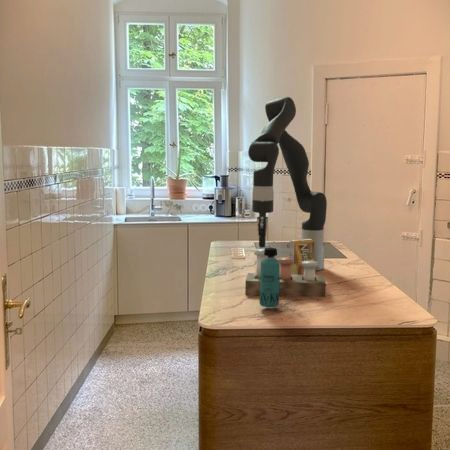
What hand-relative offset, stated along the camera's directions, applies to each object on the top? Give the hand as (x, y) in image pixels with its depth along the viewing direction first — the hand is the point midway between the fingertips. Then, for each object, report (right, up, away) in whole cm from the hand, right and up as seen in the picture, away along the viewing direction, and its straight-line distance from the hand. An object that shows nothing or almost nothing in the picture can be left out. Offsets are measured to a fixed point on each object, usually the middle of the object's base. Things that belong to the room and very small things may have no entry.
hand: (262, 246), depth 192 cm
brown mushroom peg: (+8, -15, +1) cm, 17 cm away
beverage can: (+3, -13, +23) cm, 27 cm away
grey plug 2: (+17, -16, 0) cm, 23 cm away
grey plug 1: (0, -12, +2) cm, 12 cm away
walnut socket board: (+9, -16, +1) cm, 18 cm away
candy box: (+17, -14, +23) cm, 32 cm away
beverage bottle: (+1, -20, -20) cm, 28 cm away
